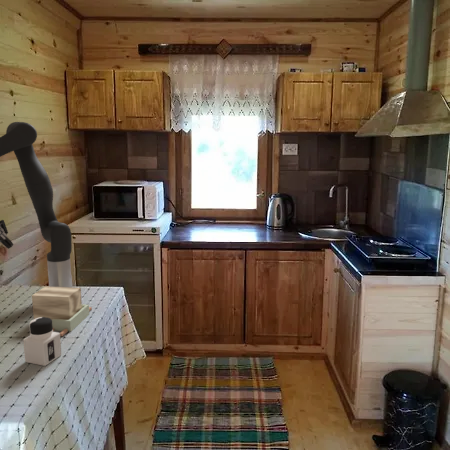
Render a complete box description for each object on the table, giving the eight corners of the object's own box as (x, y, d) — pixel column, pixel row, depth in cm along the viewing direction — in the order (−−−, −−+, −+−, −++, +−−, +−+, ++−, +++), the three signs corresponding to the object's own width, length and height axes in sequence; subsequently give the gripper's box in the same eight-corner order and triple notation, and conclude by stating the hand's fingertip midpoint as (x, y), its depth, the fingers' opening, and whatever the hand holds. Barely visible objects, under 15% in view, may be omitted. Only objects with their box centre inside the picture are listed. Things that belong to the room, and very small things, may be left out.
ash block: (48, 315, 175) (45, 286, 173) (82, 317, 173) (80, 287, 171) (34, 326, 165) (31, 295, 163) (70, 328, 163) (68, 297, 161)
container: (62, 355, 143) (59, 316, 141) (45, 366, 136) (41, 326, 134) (42, 351, 146) (39, 313, 143) (24, 362, 139) (21, 322, 136)
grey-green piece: (77, 309, 181) (76, 299, 181) (94, 310, 180) (93, 300, 180) (46, 335, 157) (45, 325, 156) (65, 337, 156) (64, 326, 155)
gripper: (-25, 215, 157) (11, 251, 164) (-8, 199, 168) (25, 233, 175) (-40, 225, 158) (-4, 260, 165) (-22, 208, 170) (10, 242, 177)
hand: (11, 246), depth 170 cm, fingers closed
